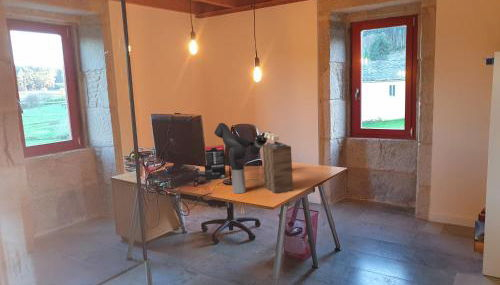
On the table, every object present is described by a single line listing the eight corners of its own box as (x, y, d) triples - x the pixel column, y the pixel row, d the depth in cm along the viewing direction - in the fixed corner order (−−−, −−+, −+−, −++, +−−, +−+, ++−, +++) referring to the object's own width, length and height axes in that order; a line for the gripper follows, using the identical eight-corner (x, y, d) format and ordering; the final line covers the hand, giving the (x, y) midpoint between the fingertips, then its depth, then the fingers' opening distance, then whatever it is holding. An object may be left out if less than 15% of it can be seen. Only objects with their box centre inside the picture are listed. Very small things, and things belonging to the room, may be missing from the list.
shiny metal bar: (261, 136, 293) (260, 132, 292) (266, 135, 294) (265, 131, 293) (273, 140, 270) (273, 136, 270) (278, 140, 272) (278, 135, 271)
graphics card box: (225, 175, 322) (223, 144, 317) (226, 178, 315) (223, 145, 310) (205, 178, 320) (202, 146, 315) (205, 180, 313) (202, 147, 308)
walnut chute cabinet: (265, 187, 284) (262, 143, 278) (282, 184, 288) (280, 140, 282) (275, 194, 267) (272, 147, 261) (293, 190, 272) (290, 144, 265)
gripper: (251, 138, 300) (257, 129, 285) (267, 135, 305) (274, 127, 289) (253, 147, 298) (259, 139, 282) (270, 144, 302) (277, 136, 287)
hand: (267, 133), depth 286 cm, fingers closed on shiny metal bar, 4 cm apart
